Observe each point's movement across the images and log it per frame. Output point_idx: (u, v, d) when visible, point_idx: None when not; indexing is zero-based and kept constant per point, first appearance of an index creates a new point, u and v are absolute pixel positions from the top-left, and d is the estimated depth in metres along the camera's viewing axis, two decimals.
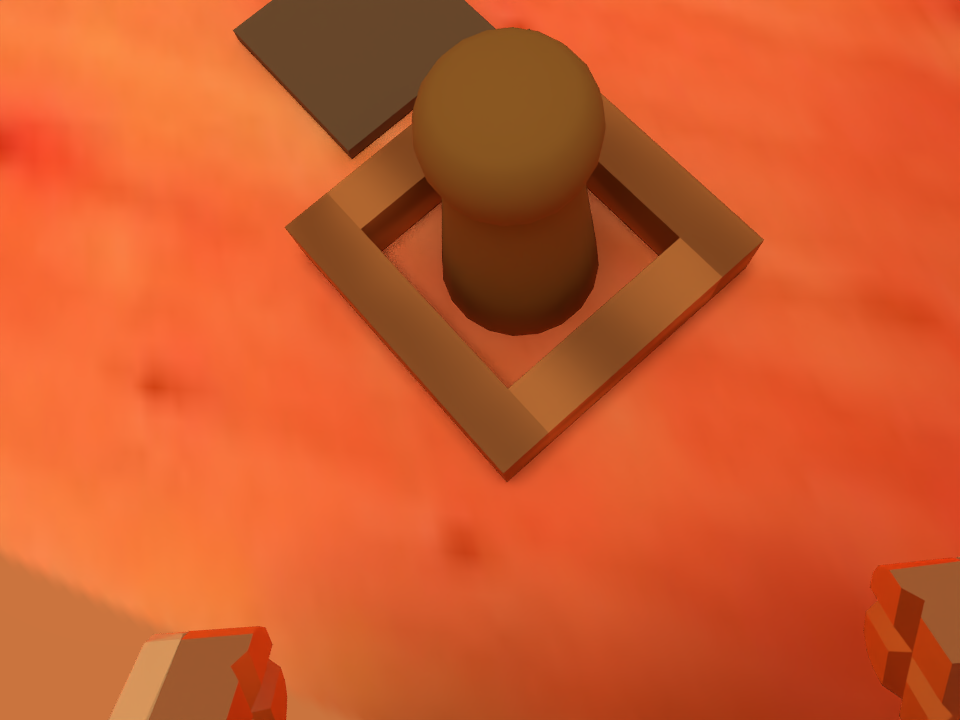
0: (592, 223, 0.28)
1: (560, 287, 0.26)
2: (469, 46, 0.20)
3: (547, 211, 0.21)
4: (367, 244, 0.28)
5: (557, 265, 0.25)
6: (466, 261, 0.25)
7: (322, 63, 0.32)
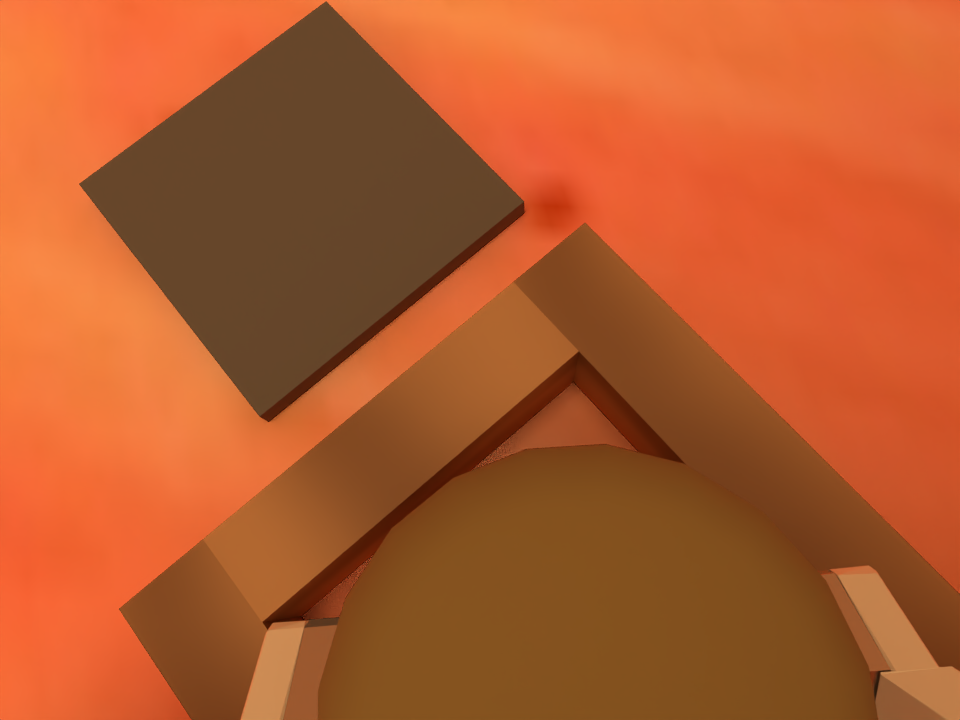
0: None
1: None
2: (484, 547, 0.07)
3: None
4: None
5: None
6: None
7: (224, 249, 0.19)
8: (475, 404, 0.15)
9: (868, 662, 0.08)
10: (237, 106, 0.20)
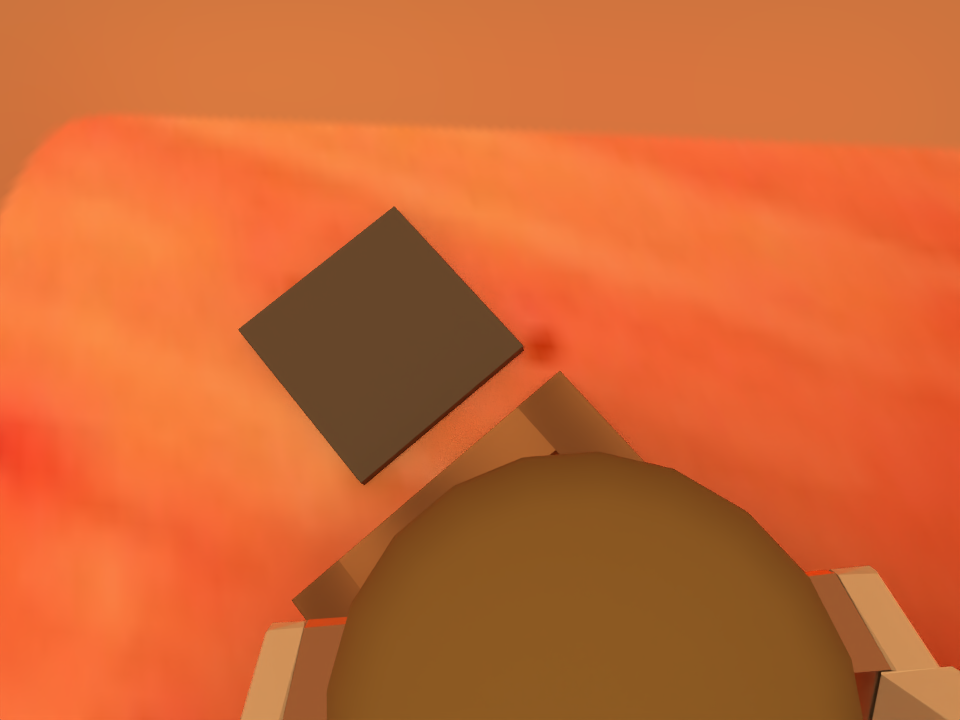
0: None
1: None
2: (483, 550, 0.07)
3: None
4: None
5: None
6: None
7: (334, 375, 0.30)
8: None
9: (869, 662, 0.08)
10: (338, 278, 0.31)
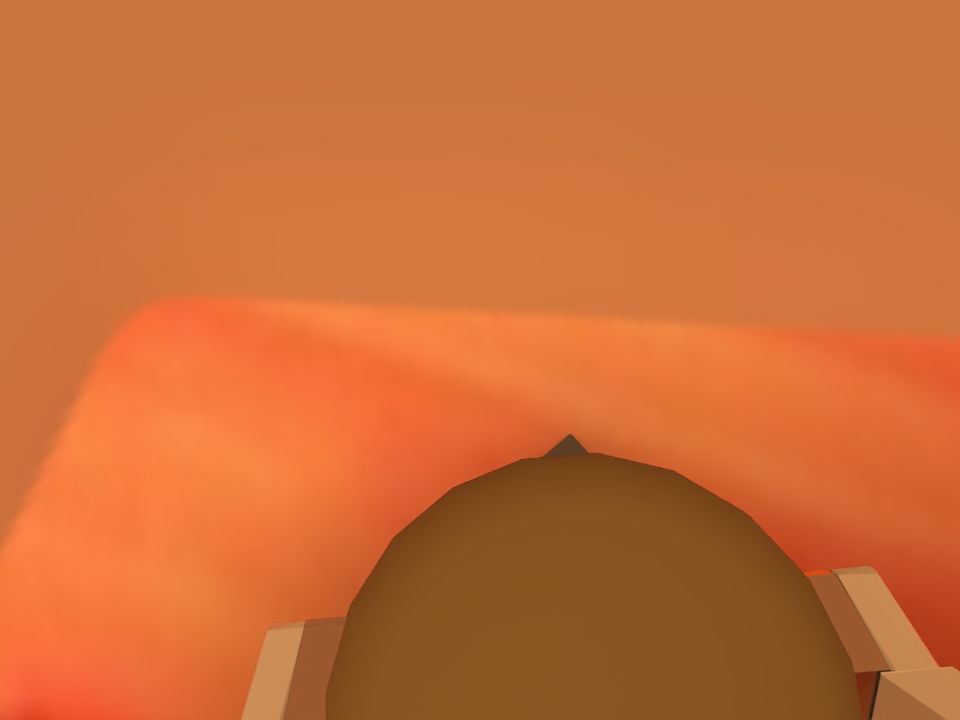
0: None
1: None
2: (483, 553, 0.07)
3: None
4: None
5: None
6: None
7: None
8: None
9: (868, 662, 0.08)
10: None
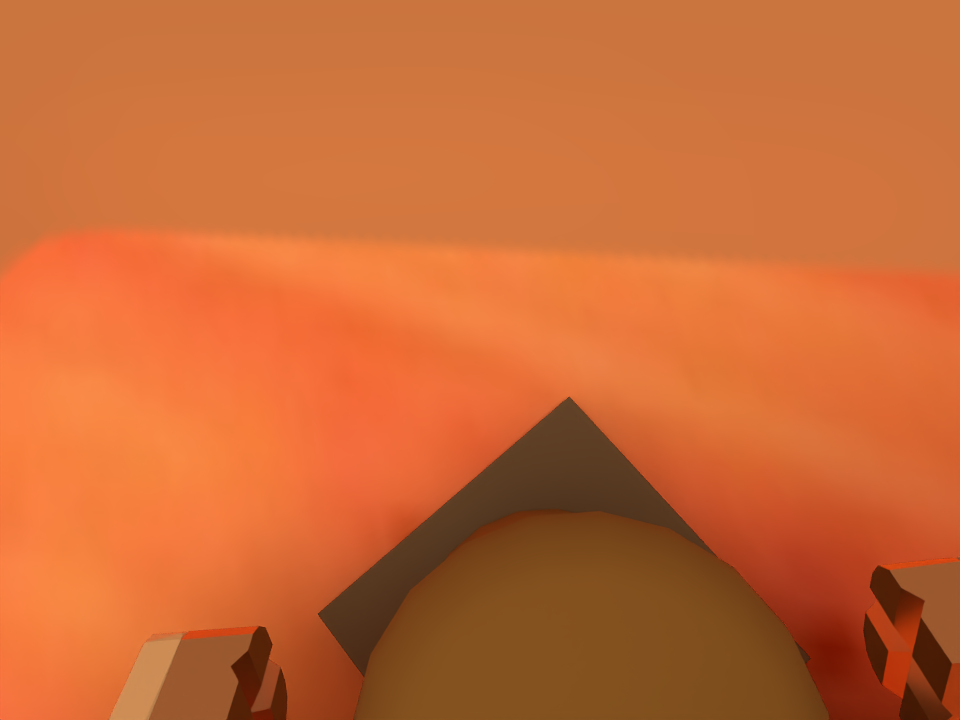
0: None
1: None
2: (498, 623, 0.08)
3: None
4: None
5: None
6: None
7: None
8: None
9: None
10: (483, 524, 0.19)
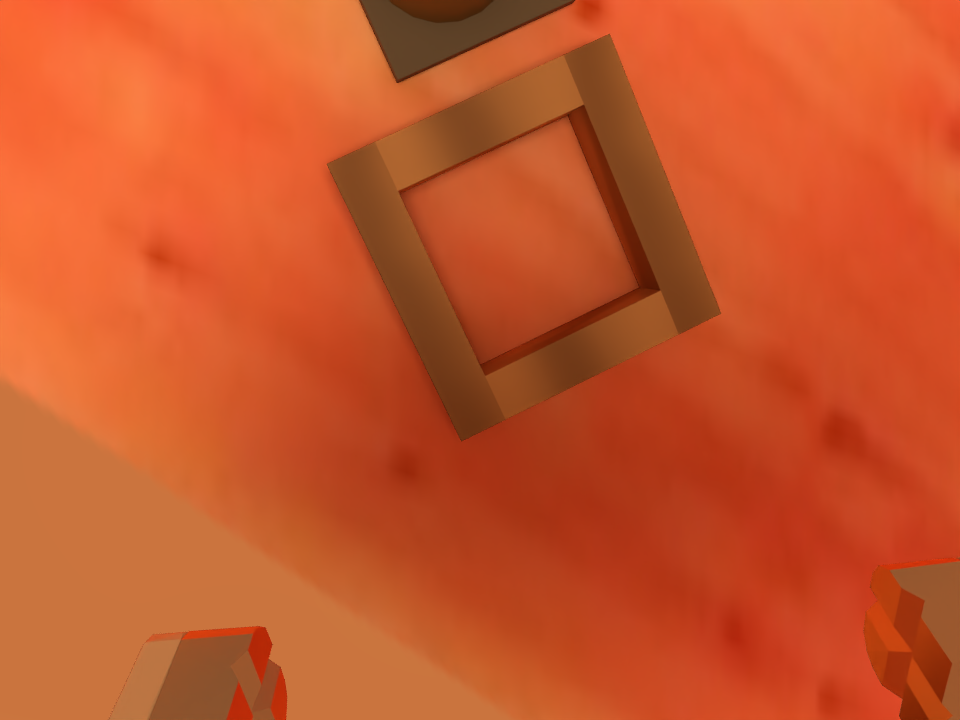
0: None
1: None
2: None
3: None
4: (400, 208, 0.30)
5: None
6: None
7: None
8: (526, 116, 0.30)
9: None
10: None
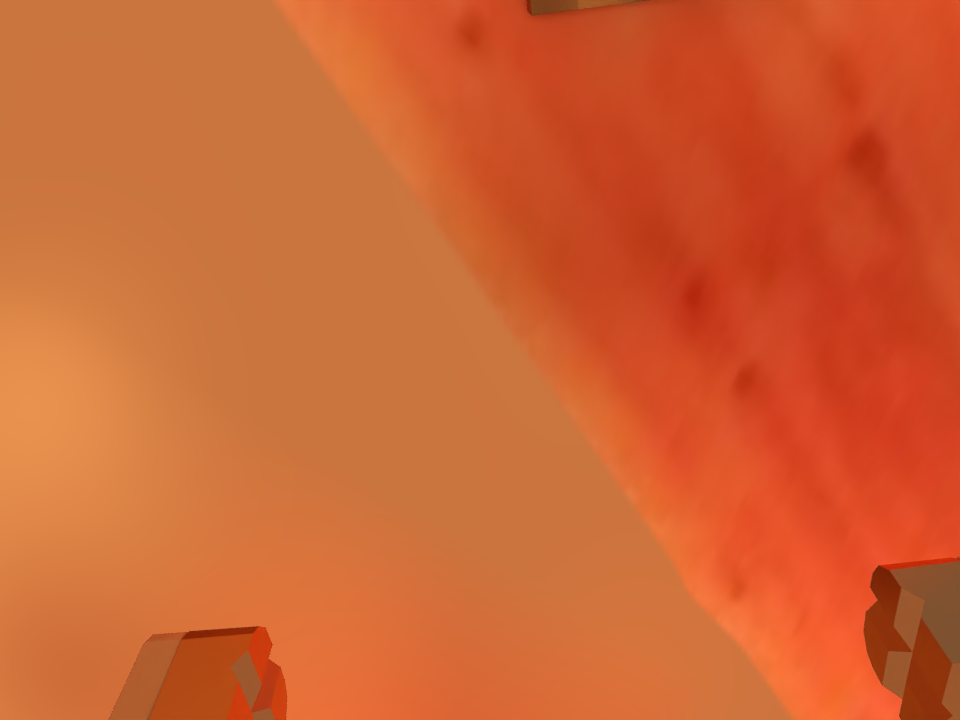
0: None
1: None
2: None
3: None
4: None
5: None
6: None
7: None
8: None
9: None
10: None
